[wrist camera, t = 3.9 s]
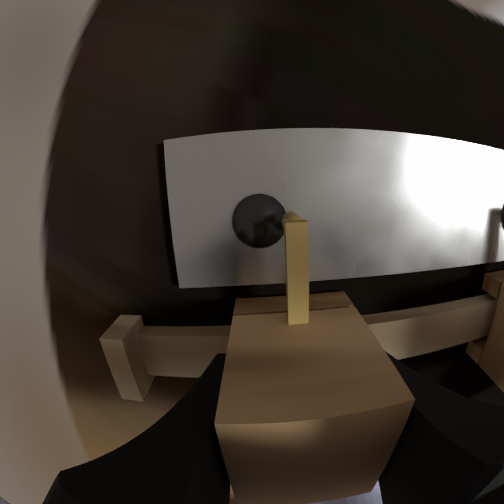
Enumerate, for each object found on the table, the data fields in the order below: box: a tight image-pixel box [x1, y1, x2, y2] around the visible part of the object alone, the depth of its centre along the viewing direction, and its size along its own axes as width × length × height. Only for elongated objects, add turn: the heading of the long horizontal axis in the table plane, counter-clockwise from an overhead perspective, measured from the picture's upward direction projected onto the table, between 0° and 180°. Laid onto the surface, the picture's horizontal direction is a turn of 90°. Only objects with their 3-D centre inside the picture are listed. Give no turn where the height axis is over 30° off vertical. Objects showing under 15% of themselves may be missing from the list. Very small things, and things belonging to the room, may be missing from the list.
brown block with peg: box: [214, 212, 415, 504], centre depth 8 cm, size 8×4×6 cm, turn 4°
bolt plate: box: [164, 128, 504, 288], centre depth 9 cm, size 5×17×1 cm, turn 94°
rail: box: [99, 293, 499, 401], centre depth 10 cm, size 3×22×2 cm, turn 94°
